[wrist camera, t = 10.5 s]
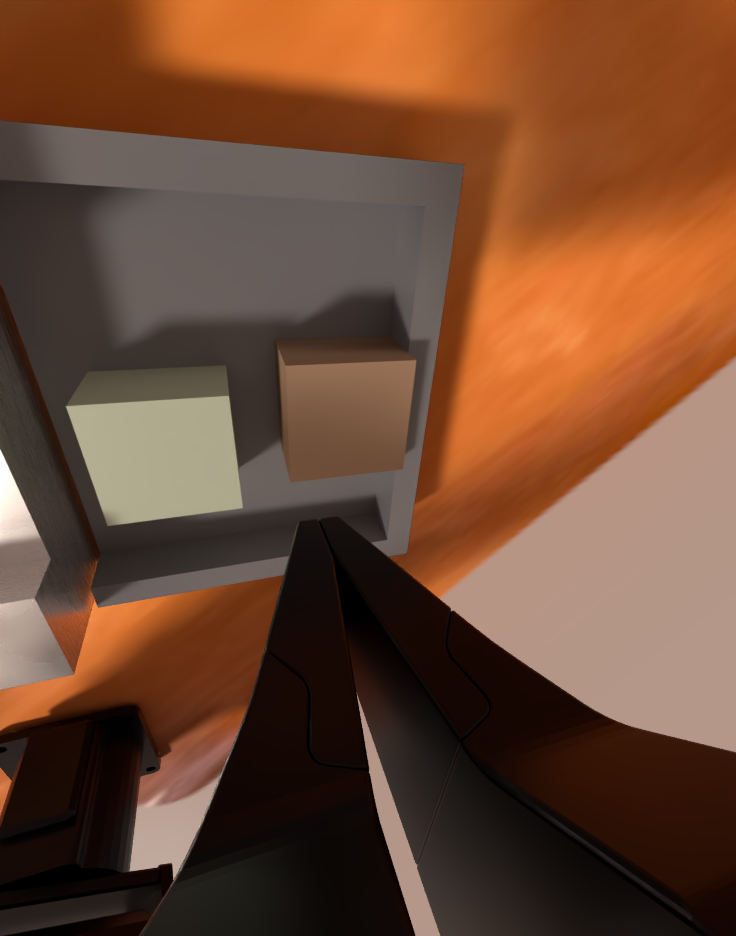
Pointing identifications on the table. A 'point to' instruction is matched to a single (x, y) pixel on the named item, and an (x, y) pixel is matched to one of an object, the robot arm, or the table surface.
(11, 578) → the slot block
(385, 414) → the brown block
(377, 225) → the tray
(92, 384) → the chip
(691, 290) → the table surface
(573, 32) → the table surface
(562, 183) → the table surface
